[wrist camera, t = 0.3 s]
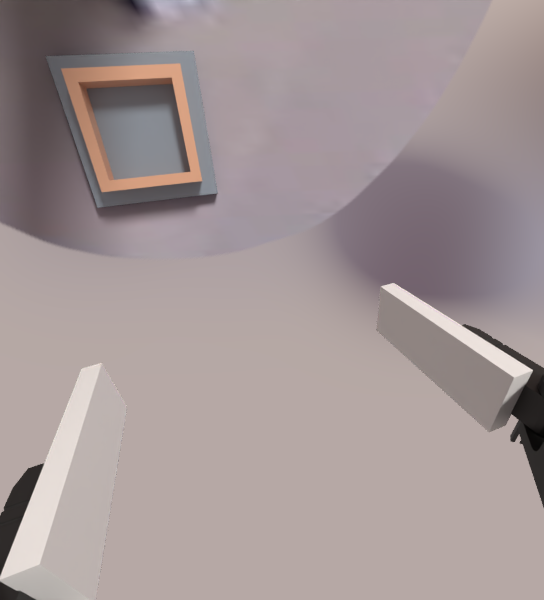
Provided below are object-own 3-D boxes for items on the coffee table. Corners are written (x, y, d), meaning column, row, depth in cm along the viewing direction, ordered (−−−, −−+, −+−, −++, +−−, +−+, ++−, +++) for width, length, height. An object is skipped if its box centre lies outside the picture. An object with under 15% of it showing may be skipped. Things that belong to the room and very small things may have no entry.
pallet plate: (51, 61, 26) (33, 46, 23) (193, 55, 28) (193, 41, 26) (101, 206, 32) (91, 209, 29) (217, 192, 34) (218, 194, 31)
